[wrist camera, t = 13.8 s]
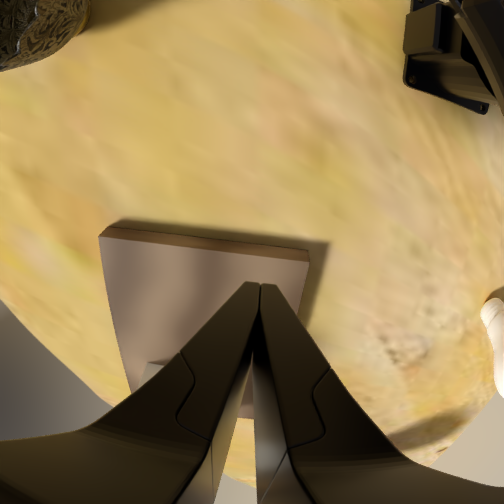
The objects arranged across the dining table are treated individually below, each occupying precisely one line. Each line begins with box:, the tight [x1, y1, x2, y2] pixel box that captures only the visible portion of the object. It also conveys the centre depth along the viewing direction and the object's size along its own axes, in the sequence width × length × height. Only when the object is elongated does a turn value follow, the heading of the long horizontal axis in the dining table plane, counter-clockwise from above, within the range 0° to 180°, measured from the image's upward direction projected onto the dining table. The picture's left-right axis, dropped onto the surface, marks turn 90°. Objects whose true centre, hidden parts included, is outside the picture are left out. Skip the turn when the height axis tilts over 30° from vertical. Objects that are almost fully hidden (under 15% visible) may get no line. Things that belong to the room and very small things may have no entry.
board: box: [98, 227, 310, 419], centre depth 25 cm, size 14×19×2 cm
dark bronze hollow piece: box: [0, 0, 91, 72], centre depth 10 cm, size 8×7×8 cm
